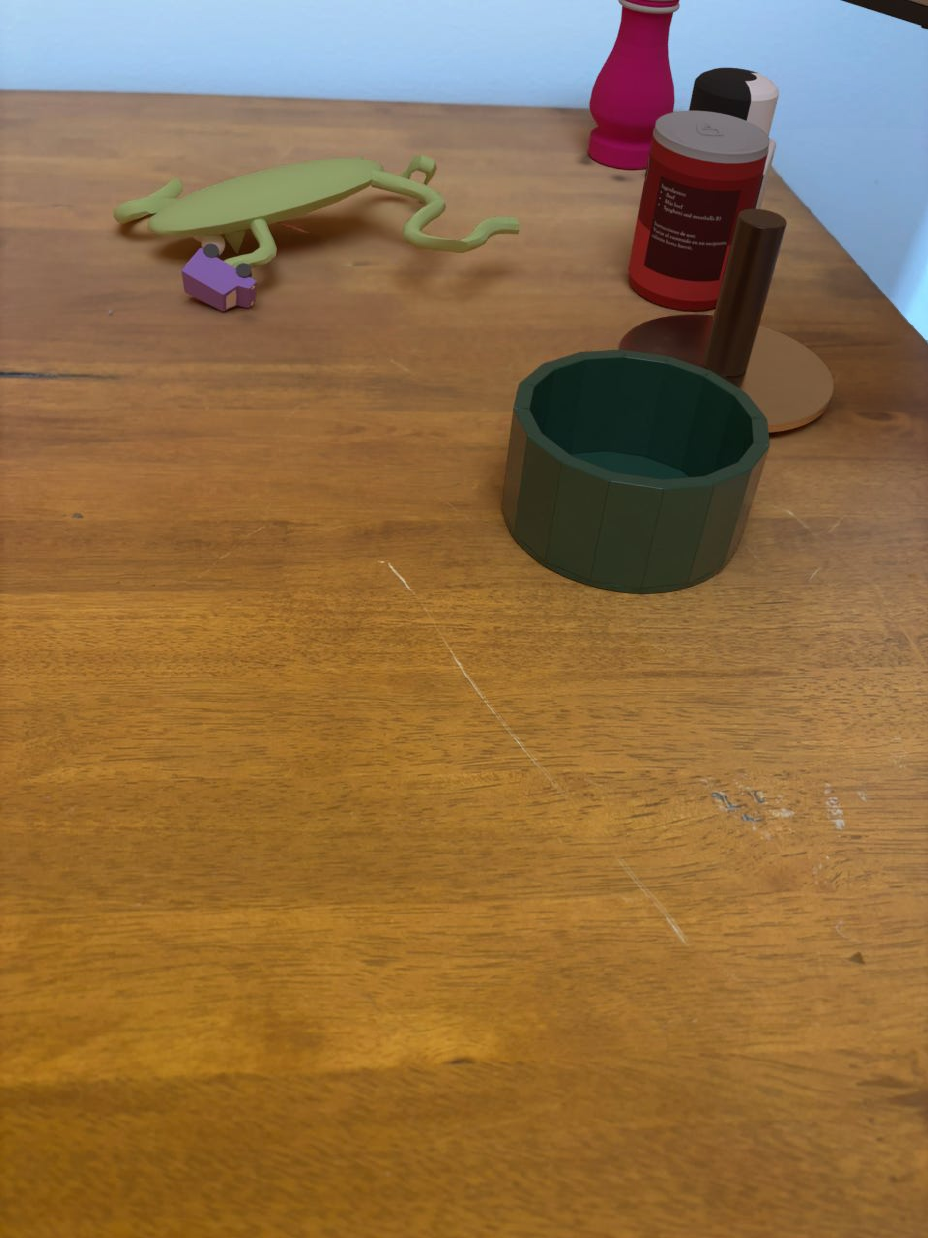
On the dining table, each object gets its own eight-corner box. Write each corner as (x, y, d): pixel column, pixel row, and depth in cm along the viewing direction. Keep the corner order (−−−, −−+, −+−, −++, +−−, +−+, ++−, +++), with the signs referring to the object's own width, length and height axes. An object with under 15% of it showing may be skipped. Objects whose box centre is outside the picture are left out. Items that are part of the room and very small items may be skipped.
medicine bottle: (649, 246, 87) (680, 80, 79) (667, 212, 92) (698, 53, 84) (741, 265, 86) (783, 98, 78) (754, 230, 91) (795, 70, 83)
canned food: (697, 258, 86) (731, 106, 79) (753, 307, 81) (795, 149, 74) (606, 267, 84) (633, 111, 76) (658, 318, 78) (692, 156, 71)
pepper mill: (622, 136, 105) (664, -120, 92) (680, 162, 101) (733, -100, 88) (565, 149, 101) (601, -115, 88) (623, 178, 97) (670, -95, 84)
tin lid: (718, 313, 80) (756, 158, 73) (872, 404, 72) (932, 240, 65) (570, 360, 73) (595, 195, 66) (723, 466, 65) (770, 291, 58)
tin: (627, 428, 68) (647, 329, 63) (787, 542, 60) (822, 439, 56) (455, 491, 62) (464, 387, 57) (611, 626, 54) (634, 518, 50)
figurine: (529, 304, 79) (539, 225, 75) (127, 327, 72) (116, 242, 68) (458, 197, 92) (464, 125, 88) (112, 207, 85) (102, 130, 81)
